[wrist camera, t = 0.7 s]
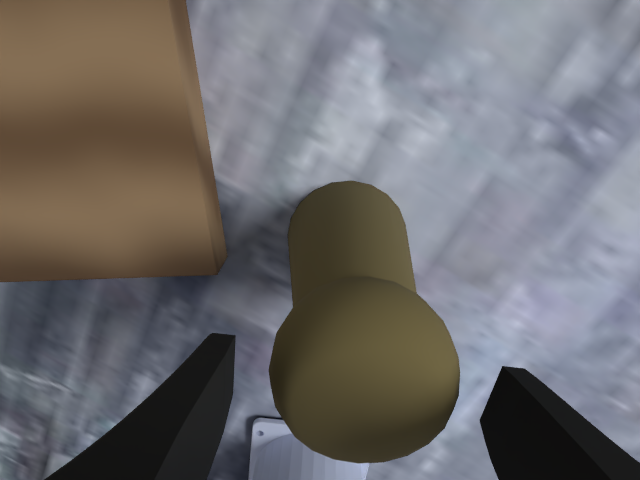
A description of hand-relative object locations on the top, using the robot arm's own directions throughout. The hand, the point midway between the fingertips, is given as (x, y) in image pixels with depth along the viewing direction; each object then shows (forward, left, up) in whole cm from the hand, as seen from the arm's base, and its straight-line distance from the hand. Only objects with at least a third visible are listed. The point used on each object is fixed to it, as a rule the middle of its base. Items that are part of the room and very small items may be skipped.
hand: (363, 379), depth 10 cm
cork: (0, 0, -10) cm, 10 cm away
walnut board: (+3, +13, -10) cm, 17 cm away
